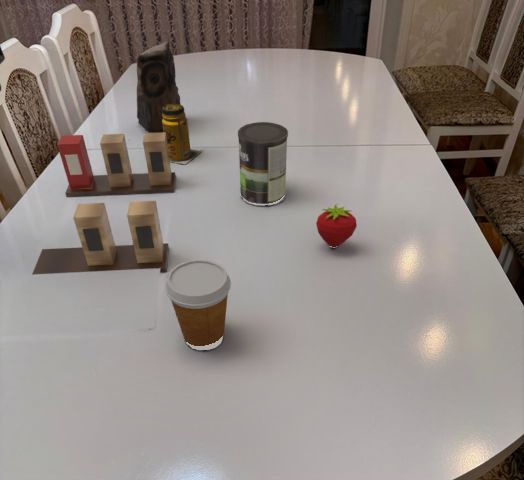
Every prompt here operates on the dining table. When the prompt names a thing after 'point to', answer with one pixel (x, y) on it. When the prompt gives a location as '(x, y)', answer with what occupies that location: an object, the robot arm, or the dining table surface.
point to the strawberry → (336, 225)
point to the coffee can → (262, 162)
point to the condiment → (177, 134)
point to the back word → (121, 173)
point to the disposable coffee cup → (199, 299)
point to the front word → (109, 243)
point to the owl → (155, 86)
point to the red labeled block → (76, 161)
